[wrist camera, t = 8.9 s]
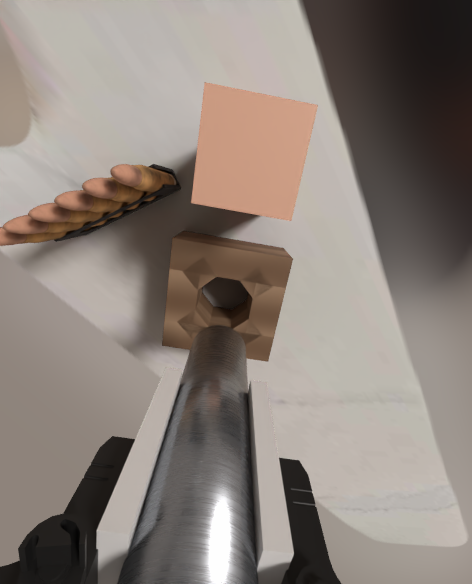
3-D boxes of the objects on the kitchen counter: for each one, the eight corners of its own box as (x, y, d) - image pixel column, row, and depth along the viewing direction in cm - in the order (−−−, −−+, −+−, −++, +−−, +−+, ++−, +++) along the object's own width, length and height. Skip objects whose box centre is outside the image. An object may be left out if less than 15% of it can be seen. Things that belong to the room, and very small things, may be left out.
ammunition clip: (85, 235, 27) (-24, 262, 16) (74, 217, 27) (-46, 232, 15) (181, 188, 26) (137, 181, 14) (172, 168, 25) (118, 145, 14)
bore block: (183, 230, 27) (172, 237, 22) (283, 248, 28) (292, 258, 23) (173, 322, 30) (162, 345, 25) (263, 336, 31) (267, 361, 26)
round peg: (195, 321, 17) (104, 580, 5) (250, 329, 17) (275, 598, 6) (189, 368, 18) (103, 666, 6) (240, 375, 18) (245, 680, 7)
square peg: (219, 135, 24) (204, 82, 13) (280, 147, 25) (317, 104, 13) (211, 200, 26) (191, 202, 15) (268, 210, 26) (291, 220, 15)
